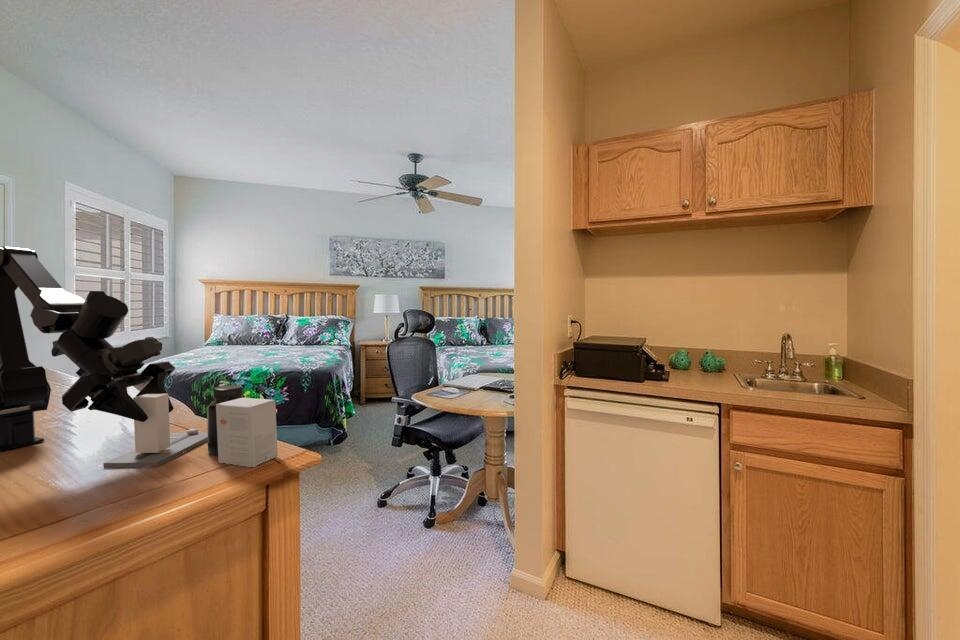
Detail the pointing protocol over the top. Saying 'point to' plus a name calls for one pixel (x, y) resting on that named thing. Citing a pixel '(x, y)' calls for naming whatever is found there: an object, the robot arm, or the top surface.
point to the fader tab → (152, 424)
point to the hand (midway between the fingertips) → (159, 415)
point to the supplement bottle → (220, 396)
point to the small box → (246, 431)
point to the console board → (177, 446)
